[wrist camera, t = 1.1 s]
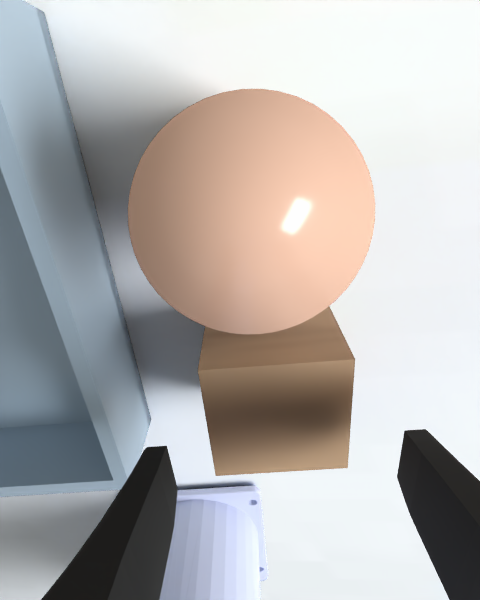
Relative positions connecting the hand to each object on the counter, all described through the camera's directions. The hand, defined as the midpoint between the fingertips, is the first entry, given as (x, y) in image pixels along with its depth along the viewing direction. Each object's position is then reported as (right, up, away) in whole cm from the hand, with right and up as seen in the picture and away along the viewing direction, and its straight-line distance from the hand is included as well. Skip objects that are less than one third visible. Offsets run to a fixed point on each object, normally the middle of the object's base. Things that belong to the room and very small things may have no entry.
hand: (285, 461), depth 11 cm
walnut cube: (0, +3, +6) cm, 7 cm away
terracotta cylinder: (-1, +9, +3) cm, 10 cm away
